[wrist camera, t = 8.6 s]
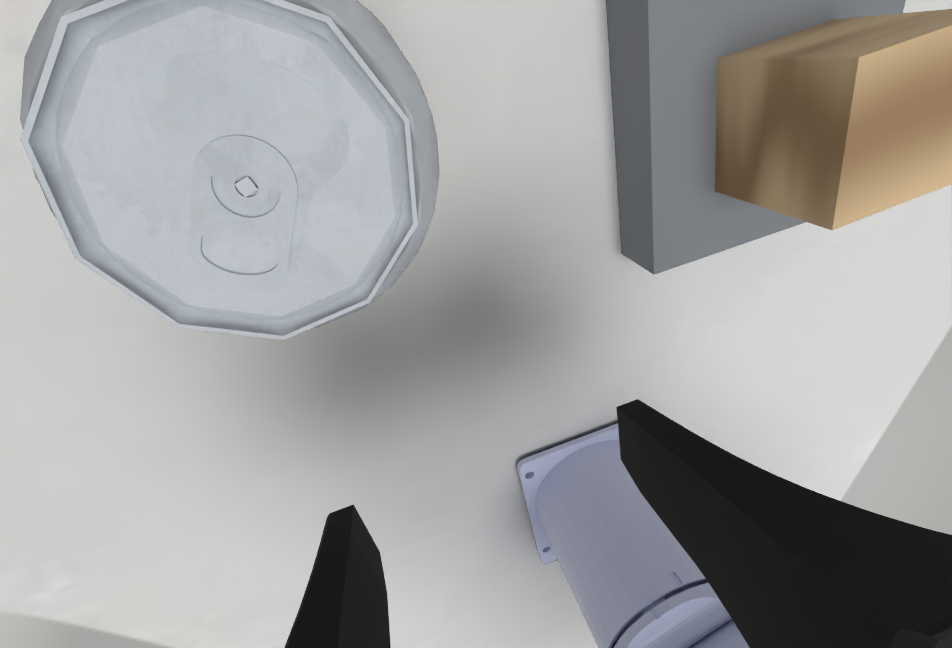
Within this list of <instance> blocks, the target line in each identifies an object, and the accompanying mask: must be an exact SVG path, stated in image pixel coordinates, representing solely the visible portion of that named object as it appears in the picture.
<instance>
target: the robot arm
mask: <svg viewBox="0 0 952 648" xmlns="http://www.w3.org/2000/svg"><path fill="white" fill-rule="evenodd" d="M617 418H618V423H617V424H614V425H612V426H609V427H606V428H604V429H601V430H598V431H596V432H593V433H590V434H588V435H585V436H582V437H580V438H577V439H574V440H572V441H569V442H566V443H564V444H561V445H558V446H556V447H553V448H550V449H548V450H545V451H542V452H540V453H537V454H534V455H532V456H529V457H526V458H524V459H522V460H521V461H520V462H519V463H518V465H517V469H518V473H519V477H520V481H521V485H522V489H523V493H524V497H525V501H526V505H527V509H528V513H529V517H530V521H531V525H532V529H533V533H534V537H535V541H536V545H537V549H538V553H539V557H540V559H541V561H542V563H550V562H553V561H555V560H557V559H558V561H559V563H560V565H561V567H562V569H563V572H564V574H565V576H566V578H567V580H568V582H569V585H570V587H571V589H572V591H573V593H574V596H575V598H576V600H577V602H578V604H579V606H580V609H581V611H582V613H583V615H584V617H585V620H586V622H587V624H588V626H589V628H590V630H591V633H592V635H593V637H594V639H595V641H596V643H597V645H598V647H599V648H952V535H949V534H945V533H941V532H937V531H933V530H929V529H926V528H922V527H918V526H915V525H912V524H908V523H905V522H902V521H898V520H895V519H892V518H889V517H885V516H882V515H879V514H876V513H873V512H870V511H867V510H864V509H861V508H858V507H855V506H853V505H850V504H847V503H844V502H841V501H839V500H836V499H833V498H830V497H827V496H824V495H822V494H819V493H817V492H814V491H812V490H809V489H807V488H804V487H802V486H799V485H797V484H795V483H792V482H790V481H788V480H785V479H783V478H781V477H778V476H776V475H774V474H772V473H769V472H767V471H765V470H763V469H761V468H759V467H757V466H755V465H753V464H751V463H749V462H747V461H745V460H743V459H741V458H739V457H737V456H735V455H733V454H731V453H729V452H727V451H725V450H723V449H721V448H720V447H718V446H716V445H714V444H712V443H711V442H709V441H707V440H705V439H703V438H702V437H700V436H698V435H696V434H695V433H693V432H691V431H689V430H688V429H686V428H684V427H683V426H681V425H679V424H678V423H676V422H674V421H673V420H671V419H669V418H668V417H666V416H664V415H663V414H661V413H659V412H658V411H656V410H655V409H653V408H651V407H650V406H648V405H646V404H645V403H643V402H641V401H640V400H638V399H637V400H634V401H632V402H629V403H626V404H624V405H621V406H618V407H617ZM528 472H529V473H528ZM285 648H390V632H389V616H388V601H387V591H386V585H385V579H384V573H383V567H382V562H381V556H380V552H379V550H378V548H377V546H376V544H375V543H374V541H373V539H372V537H371V535H370V534H369V532H368V530H367V528H366V526H365V525H364V523H363V521H362V519H361V517H360V516H359V514H358V512H357V510H356V508H355V506H354V505H351V506H349V507H346V508H343V509H340V510H338V511H335V512H332V513H330V514H329V515H328V517H327V519H326V523H325V527H324V531H323V535H322V538H321V542H320V546H319V549H318V553H317V556H316V559H315V563H314V566H313V569H312V572H311V576H310V579H309V582H308V585H307V588H306V591H305V594H304V597H303V600H302V603H301V606H300V608H299V611H298V614H297V617H296V619H295V622H294V624H293V627H292V630H291V632H290V635H289V637H288V640H287V643H286V645H285Z"/></svg>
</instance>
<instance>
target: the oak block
mask: <svg viewBox="0 0 952 648" xmlns="http://www.w3.org/2000/svg"><path fill="white" fill-rule="evenodd" d="M950 184H952V9H948V10H936V11H924V12H913V13H901V14H890V15H878V16H867V17H855V18H844V19H835V20H832V21H829V22H826V23H823V24H820V25H817V26H814V27H811V28H808V29H805V30H802V31H799V32H796V33H793V34H790V35H787V36H784V37H781V38H778V39H775V40H772V41H769V42H766V43H763V44H760V45H757V46H754V47H751V48H748V49H745V50H742V51H739V52H736V53H733V54H730V55H727V56H724V57H721V58H718V59H717V99H716V164H715V192H718V193H721V194H724V195H727V196H730V197H733V198H736V199H739V200H742V201H745V202H748V203H751V204H754V205H757V206H760V207H763V208H766V209H770V210H773V211H776V212H779V213H782V214H785V215H788V216H791V217H794V218H797V219H800V220H803V221H806V222H809V223H812V224H815V225H818V226H821V227H824V228H827V229H830V230H834V229H837V228H839V227H842V226H844V225H847V224H850V223H852V222H855V221H857V220H860V219H862V218H865V217H868V216H870V215H873V214H875V213H878V212H881V211H883V210H886V209H888V208H891V207H893V206H896V205H899V204H901V203H904V202H906V201H909V200H912V199H914V198H917V197H919V196H922V195H924V194H927V193H930V192H932V191H935V190H937V189H940V188H943V187H945V186H948V185H950Z"/></svg>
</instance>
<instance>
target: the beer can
mask: <svg viewBox="0 0 952 648" xmlns="http://www.w3.org/2000/svg"><path fill="white" fill-rule="evenodd" d="M20 120H21V124H22V128H23V132H22V135H21V138H20V140H21V142H22V145H23V147H24V149H25V151H26V153H27V155H28V158H29V160H30V162H31V164H32V166H33V170H34V174H35V177H36V179H37V181H38V182H39V184H40V186H41V188H42V191H43V193H44V195H45V198H46V200H47V202H48V205H49V207H50V209H51V211H52V213H53V214H54V216H55V217H56V219H57V221H58V223H59V225H60V227H61V229H62V232H63V234H64V236H65V238H66V240H67V242H68V245H69V247H70V249H71V251H72V253H73V255H74V258H75V259H76V260H78V261H79V262H81V263H82V264H84V265H85V266H87V267H88V268H90V269H91V270H92V271H94V272H95V273H97V274H98V275H100V276H101V277H103V278H104V279H106V280H107V281H109V282H110V283H112V284H113V285H115V286H116V287H118V288H119V289H121V290H122V291H124V292H125V293H127V294H128V295H129V296H131V297H132V298H134V299H135V300H137V301H138V302H140V303H141V304H143V305H144V306H146V307H147V308H149V309H150V310H152V311H153V312H155V313H156V314H158V315H159V316H161V317H162V318H164V319H165V320H166V321H168V322H169V323H171V324H172V325H174V326H175V327H177V328H183V329H192V330H201V331H209V332H218V333H225V334H236V335H245V336H254V337H263V338H272V339H281V340H285V339H287V338H290V337H292V336H294V335H297V334H299V333H301V332H304V331H306V330H308V329H311V328H315V327H319V326H321V325H324V324H326V323H329V322H331V321H334V320H336V319H338V318H341V317H343V316H345V315H348V314H350V313H353V312H355V311H357V310H360V309H362V308H364V307H365V306H367V305H368V304H369V303H371V302H372V301H374V300H375V299H376V298H378V297H379V296H380V295H382V294H383V293H384V292H385V291H386V290H387V289H388V288H389V287H391V286H392V285H393V284H394V282H395V281H396V280H397V279H398V278H399V276H400V275H401V274H402V273H403V272H404V270H405V269H406V268H407V266H408V265H409V263H410V262H411V261H412V259H413V258H414V256H415V255H416V254H417V252H418V251H419V249H420V247H421V245H422V242H423V240H424V237H425V234H426V232H427V229H428V226H429V224H430V221H431V218H432V216H433V213H434V209H435V202H436V195H437V188H438V181H439V157H438V144H437V135H436V131H435V126H434V122H433V117H432V114H431V111H430V109H429V106H428V102H427V99H426V97H425V94H424V92H423V89H422V87H421V85H420V82H419V80H418V77H417V75H416V73H415V71H414V70H413V68H412V67H411V65H410V64H409V62H408V61H407V59H406V58H405V56H404V55H403V53H402V52H401V50H400V49H399V47H398V46H397V44H396V42H395V41H394V39H393V38H392V36H391V35H390V33H389V32H388V30H387V29H386V27H385V26H384V25H383V24H382V23H381V22H380V21H379V20H378V19H377V18H376V17H375V15H374V14H373V13H372V12H370V11H369V10H368V9H367V8H366V7H365V6H363V5H362V4H361V3H360V2H359V1H358V0H52V1H51V3H50V5H49V7H48V9H47V10H46V12H45V14H44V16H43V17H42V19H41V21H40V23H39V25H38V27H37V30H36V32H35V34H34V37H33V39H32V41H31V44H30V46H29V48H28V51H27V53H26V55H25V60H24V74H23V88H22V102H21V115H20Z"/></svg>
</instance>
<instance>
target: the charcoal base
mask: <svg viewBox="0 0 952 648" xmlns="http://www.w3.org/2000/svg"><path fill="white" fill-rule="evenodd" d="M904 4H905V0H606V8H607V24H608V41H609V57H610V73H611V90H612V106H613V122H614V139H615V155H616V171H617V188H618V204H619V220H620V237H621V253H622V254H623V255H625V256H626V257H628V258H629V259H631V260H632V261H634V262H635V263H637V264H638V265H640V266H642V267H643V268H645V269H646V270H648V271H649V272H651V273H652V274H657V273H660V272H663V271H666V270H669V269H671V268H674V267H677V266H680V265H683V264H686V263H689V262H692V261H695V260H698V259H700V258H703V257H706V256H709V255H712V254H715V253H718V252H721V251H724V250H726V249H729V248H732V247H735V246H738V245H741V244H744V243H747V242H750V241H753V240H755V239H758V238H761V237H764V236H767V235H770V234H773V233H776V232H779V231H781V230H784V229H787V228H790V227H793V226H796V225H799V224H802V223H805V222H806V221H803V220H800V219H797V218H794V217H791V216H788V215H785V214H782V213H779V212H776V211H773V210H770V209H766V208H763V207H760V206H757V205H754V204H751V203H748V202H745V201H742V200H739V199H736V198H733V197H730V196H727V195H724V194H721V193H718V192H715V164H716V99H717V59H718V58H721V57H724V56H727V55H730V54H733V53H736V52H739V51H742V50H745V49H748V48H751V47H754V46H757V45H760V44H763V43H766V42H769V41H772V40H775V39H778V38H781V37H784V36H787V35H790V34H793V33H796V32H799V31H802V30H805V29H808V28H811V27H814V26H817V25H820V24H823V23H826V22H829V21H832V20H835V19H844V18H855V17H867V16H878V15H890V14H901V13H903V9H904Z"/></svg>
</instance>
